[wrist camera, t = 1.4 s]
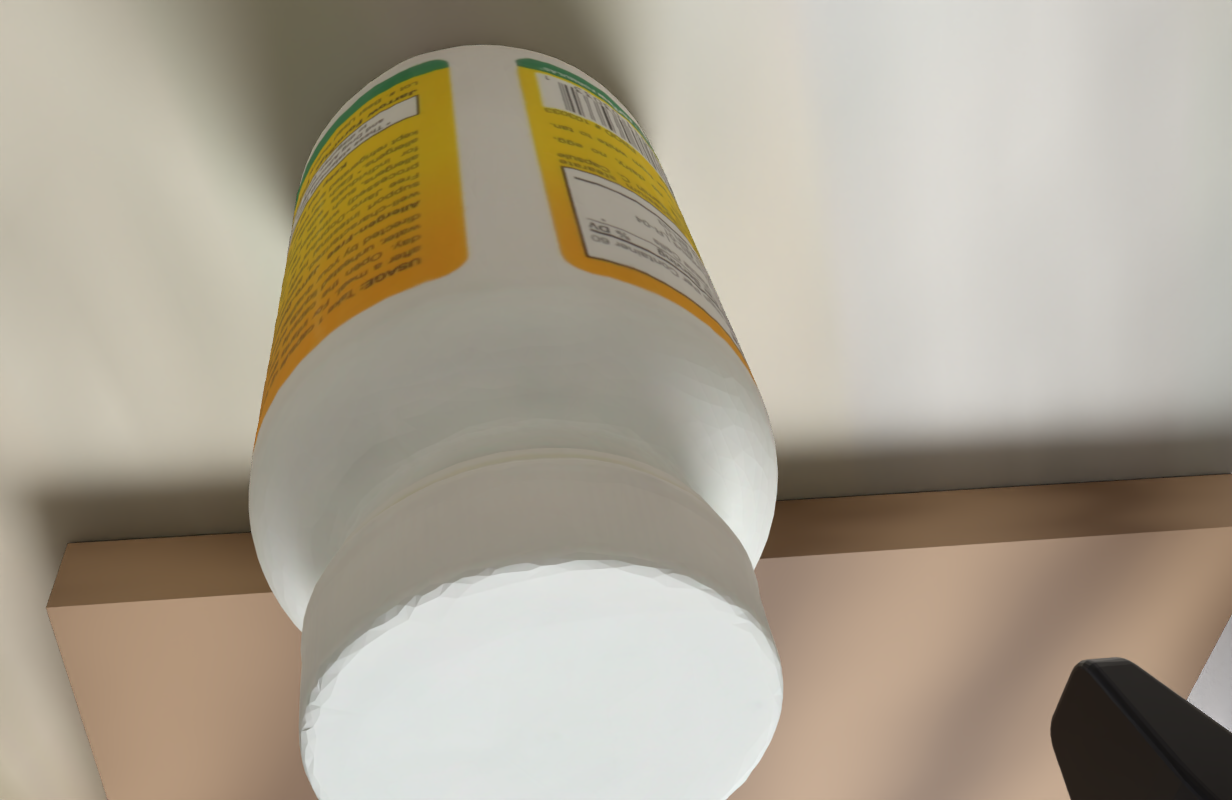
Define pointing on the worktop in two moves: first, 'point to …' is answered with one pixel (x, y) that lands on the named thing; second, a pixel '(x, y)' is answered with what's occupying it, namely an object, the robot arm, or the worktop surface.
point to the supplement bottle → (511, 455)
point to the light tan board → (796, 613)
